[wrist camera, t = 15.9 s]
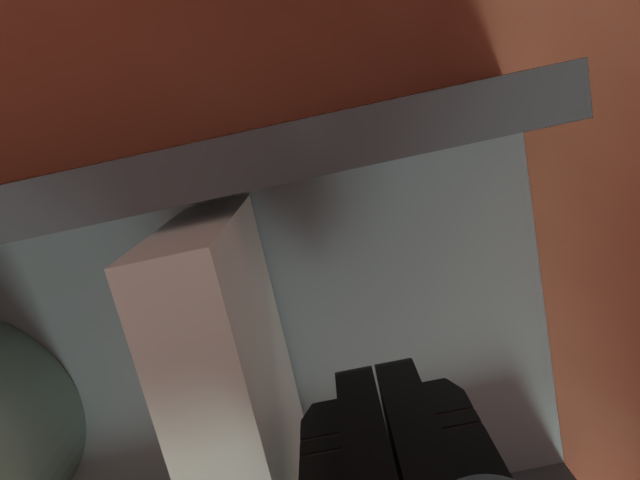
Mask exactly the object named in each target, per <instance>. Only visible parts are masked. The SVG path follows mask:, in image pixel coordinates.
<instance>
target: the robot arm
mask: <svg viewBox="0 0 640 480" xmlns="http://www.w3.org/2000/svg"><path fill="white" fill-rule="evenodd" d="M375 371H376V376H377V381H378V386H379V392H380V397H381V402H382V407H383V412H384V416H383V412H382V408H381V403H380V399H379V395H378V391H377V387H376V382H375V378H374V374H373V370H372V366H365V367H360V368H355V369H350V370H345V371H339V372H335V382H336V394H337V399H332V400H327V401H322V402H317V403H312V404H311V406H310V407H309V409H308V410H307V412H306V414H305V415H304V417H303V418H302V420H301V425H300V451H299V456H300V459H299V477H298V480H515V479H513V477H512V475H511V474H510V472H509V470H508V468H507V466H506V464H505V463H504V461H503V459H502V457H501V455H500V454H499V452H498V450H497V448H496V446H495V445H494V443H493V441H492V439H491V437H490V436H489V434H488V432H487V430H486V428H485V427H484V425H483V424H482V422H481V419H480V418H479V416H478V414H477V412H476V410H474V408H473V405H472V403H471V401H470V400H469V398H468V396H467V394H466V392H465V390H464V389H462V388H461V387H459V386H457V385H456V384H454V383H453V382H451V381H450V380H448V379H446V378H441V379H436V380H431V381H426V382H422V381H421V379H420V376H419V374H418V371H417V369H416V367H415V364H414V362H413V359H412V358H406V359H401V360H396V361H391V362H385V363H380V364H375ZM384 417H385V420H384ZM385 422H386V425H385ZM386 427H387V429H386ZM387 432H388V433H387Z"/></svg>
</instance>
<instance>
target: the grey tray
mask: <svg viewBox="0 0 640 480" xmlns="http://www.w3.org/2000/svg"><path fill="white" fill-rule="evenodd" d="M588 118H593V112H592V101H591V90H590V79H589V69H588V58H587V57H585V58H580V59H576V60H571V61H566V62H561V63H557V64H552V65H547V66H542V67H538V68H533V69H528V70H523V71H518V72H514V73H509V74H504V75H500V76H495V77H490V78H486V79H481V80H477V81H472V82H468V83H463V84H458V85H454V86H449V87H445V88H440V89H436V90H431V91H426V92H422V93H417V94H413V95H408V96H404V97H399V98H394V99H390V100H385V101H381V102H376V103H372V104H367V105H362V106H358V107H353V108H349V109H344V110H339V111H335V112H330V113H326V114H321V115H317V116H312V117H307V118H303V119H298V120H294V121H289V122H285V123H280V124H275V125H271V126H266V127H262V128H257V129H253V130H248V131H243V132H239V133H234V134H230V135H225V136H221V137H216V138H211V139H207V140H202V141H198V142H193V143H189V144H184V145H179V146H175V147H170V148H166V149H161V150H157V151H152V152H147V153H143V154H138V155H134V156H129V157H124V158H120V159H115V160H111V161H106V162H102V163H97V164H92V165H88V166H83V167H79V168H74V169H70V170H65V171H60V172H56V173H51V174H47V175H42V176H38V177H33V178H28V179H24V180H19V181H15V182H10V183H6V184H1V185H0V321H2V322H5V323H7V324H9V325H11V326H13V327H15V328H17V329H19V330H21V331H23V332H24V333H26V334H27V335H29V336H31V337H32V338H34V339H35V340H36V341H38V342H39V343H40V344H41V345H42V346H44V347H45V348H46V349H47V350H48V351H49V352H50V353H51V354H52V355H53V356H54V357H55V358H56V359H57V360H58V361H59V362H60V364H61V365H62V366H63V368H64V369H65V370H66V372H67V373H68V374H69V376H70V378H71V380H72V381H73V383H74V385H75V387H76V389H77V391H78V394H79V396H80V399H81V402H82V406H83V409H84V413H85V421H86V443H85V448H84V453H83V456H82V459H81V462H80V465H79V467H78V469H77V471H76V473H75V475H74V476H73V478H72V480H171V479H170V476H169V472H168V469H167V466H166V463H165V460H164V457H163V454H162V450H161V447H160V444H159V441H158V438H157V435H156V432H155V428H154V425H153V422H152V419H151V416H150V413H149V410H148V406H147V403H146V400H145V397H144V394H143V391H142V388H141V384H140V381H139V378H138V375H137V372H136V369H135V366H134V362H133V359H132V356H131V353H130V350H129V347H128V344H127V340H126V337H125V334H124V331H123V328H122V325H121V322H120V318H119V315H118V312H117V309H116V306H115V303H114V300H113V296H112V293H111V290H110V287H109V284H108V281H107V278H106V274H105V271H104V269H105V268H106V267H108V266H109V265H110V264H112V263H113V262H114V261H116V260H117V259H119V258H120V257H121V256H123V255H124V254H125V253H127V252H128V251H129V250H131V249H132V248H133V247H135V246H136V245H137V244H139V243H140V242H141V241H143V240H144V239H145V238H147V237H148V236H149V235H151V234H152V233H153V232H155V231H156V230H157V229H159V228H160V227H161V226H163V225H164V224H165V223H167V222H168V221H170V220H171V219H172V218H174V217H175V216H176V215H178V214H179V213H180V212H182V211H183V210H184V209H186V208H190V207H194V206H199V205H204V204H208V203H213V202H218V201H222V200H227V199H232V198H236V197H241V196H246V195H250V199H251V203H252V207H253V211H254V215H255V219H256V223H257V227H258V231H259V235H260V239H261V243H262V248H263V252H264V256H265V260H266V264H267V268H268V272H269V276H270V280H271V284H272V288H273V292H274V297H275V301H276V305H277V309H278V313H279V317H280V321H281V325H282V329H283V333H284V337H285V341H286V346H287V350H288V354H289V358H290V362H291V366H292V370H293V374H294V378H295V382H296V386H297V390H298V395H299V399H300V403H301V407H302V411H303V415H305V414H306V412H307V410H308V409H309V407H310V406H311V404H312V403H317V402H322V401H327V400H332V399H337V394H336V382H335V372H339V371H345V370H350V369H355V368H360V367H365V366H372V370H373V374H374V378H375V382H376V387H377V391H378V395H379V399H380V403H381V408H382V412H383V407H382V402H381V397H380V392H379V386H378V381H377V376H376V371H375V364H380V363H385V362H391V361H396V360H401V359H406V358H412V359H413V362H414V364H415V367H416V369H417V371H418V374H419V376H420V379H421V381H422V382H426V381H431V380H436V379H441V378H446V379H448V380H450V381H451V382H453V383H454V384H456V385H457V386H459V387H461V388H462V389H464V390H465V392H466V394H467V396H468V398H469V400H470V401H471V403H472V405H473V408H474V410H476V412H477V414H478V416H479V418H480V419H481V422H482V424H483V425H484V427H485V428H486V430H487V432H488V434H489V436H490V437H491V439H492V441H493V443H494V445H495V446H496V448H497V450H498V452H499V454H500V455H501V457H502V459H503V461H504V463H505V464H506V466H507V468H508V470H509V472H510V474H511V475H512V477H513V479H515V480H576V478H575V477H574V476H573V474H572V473H571V472H570V470H569V469H568V467H567V466H566V465H565V463H564V460H563V452H562V443H561V435H560V427H559V419H558V411H557V403H556V395H555V387H554V378H553V370H552V362H551V354H550V346H549V338H548V330H547V322H546V313H545V305H544V297H543V289H542V281H541V273H540V265H539V257H538V249H537V240H536V232H535V224H534V216H533V208H532V200H531V192H530V184H529V175H528V167H527V159H526V151H525V143H524V135H523V132H527V131H532V130H537V129H541V128H546V127H551V126H555V125H560V124H565V123H569V122H574V121H579V120H583V119H588ZM383 416H384V412H383ZM384 420H385V417H384ZM385 425H386V422H385ZM386 429H387V427H386ZM387 433H388V432H387Z"/></svg>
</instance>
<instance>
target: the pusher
mask: <svg viewBox="0 0 640 480" xmlns="http://www.w3.org/2000/svg"><path fill="white" fill-rule="evenodd" d="M104 271H105V274H106V278H107V281H108V284H109V287H110V290H111V293H112V296H113V300H114V303H115V306H116V309H117V312H118V315H119V318H120V322H121V325H122V328H123V331H124V334H125V337H126V340H127V344H128V347H129V350H130V353H131V356H132V359H133V362H134V366H135V369H136V372H137V375H138V378H139V381H140V384H141V388H142V391H143V394H144V397H145V400H146V403H147V406H148V410H149V413H150V416H151V419H152V422H153V425H154V428H155V432H156V435H157V438H158V441H159V444H160V447H161V450H162V454H163V457H164V460H165V463H166V466H167V469H168V472H169V476H170V479H171V480H298V477H299V459H300V456H299V451H300V425H301V420H302V418H303V417H304V415H303V411H302V407H301V403H300V399H299V395H298V390H297V386H296V382H295V378H294V374H293V370H292V366H291V362H290V358H289V354H288V350H287V346H286V341H285V337H284V333H283V329H282V325H281V321H280V317H279V313H278V309H277V305H276V301H275V297H274V292H273V288H272V284H271V280H270V276H269V272H268V268H267V264H266V260H265V256H264V252H263V248H262V243H261V239H260V235H259V231H258V227H257V223H256V219H255V215H254V211H253V207H252V203H251V199H250V195H246V196H241V197H236V198H232V199H227V200H222V201H218V202H213V203H208V204H204V205H199V206H194V207H190V208H186V209H184V210H183V211H182V212H180V213H179V214H178V215H176V216H175V217H174V218H172V219H171V220H170V221H168V222H167V223H165V224H164V225H163V226H161V227H160V228H159V229H157V230H156V231H155V232H153V233H152V234H151V235H149V236H148V237H147V238H145V239H144V240H143V241H141V242H140V243H139V244H137V245H136V246H135V247H133V248H132V249H131V250H129V251H128V252H127V253H125V254H124V255H123V256H121V257H120V258H119V259H117V260H116V261H114V262H113V263H112V264H110V265H109V266H108V267H106V268H105V269H104Z"/></svg>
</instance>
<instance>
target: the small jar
mask: <svg viewBox="0 0 640 480" xmlns="http://www.w3.org/2000/svg"><path fill="white" fill-rule="evenodd" d="M85 443H86V421H85V413H84V409H83V406H82V402H81V399H80V396H79V394H78V391H77V389H76V387H75V385H74V383H73V381H72V380H71V378H70V376H69V374H68V373H67V372H66V370H65V369H64V368H63V366H62V365H61V364H60V362H59V361H58V360H57V359H56V358H55V357H54V356H53V355H52V354H51V353H50V352H49V351H48V350H47V349H46V348H45V347H44V346H42V345H41V344H40V343H39V342H38V341H36V340H35V339H34V338H32V337H31V336H29V335H27V334H26V333H24V332H23V331H21V330H19V329H17V328H15V327H13V326H11V325H9V324H7V323H5V322H2V321H0V480H72V478H73V476H74V475H75V473H76V471H77V469H78V467H79V465H80V462H81V459H82V456H83V453H84V448H85Z"/></svg>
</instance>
